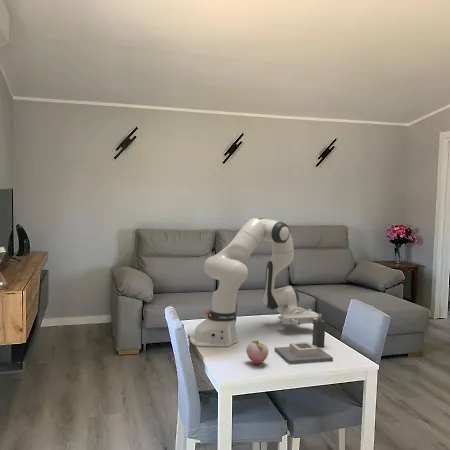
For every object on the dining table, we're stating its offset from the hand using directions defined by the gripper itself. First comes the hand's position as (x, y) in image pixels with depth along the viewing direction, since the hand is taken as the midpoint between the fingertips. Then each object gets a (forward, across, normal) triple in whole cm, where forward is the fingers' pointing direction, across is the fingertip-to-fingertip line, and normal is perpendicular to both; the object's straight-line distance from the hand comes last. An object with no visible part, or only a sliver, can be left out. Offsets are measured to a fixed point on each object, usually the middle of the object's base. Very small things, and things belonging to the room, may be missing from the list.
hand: (307, 323), depth 228 cm
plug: (+12, 0, +7) cm, 14 cm away
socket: (+23, -13, +7) cm, 27 cm away
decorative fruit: (+28, -36, +7) cm, 46 cm away
